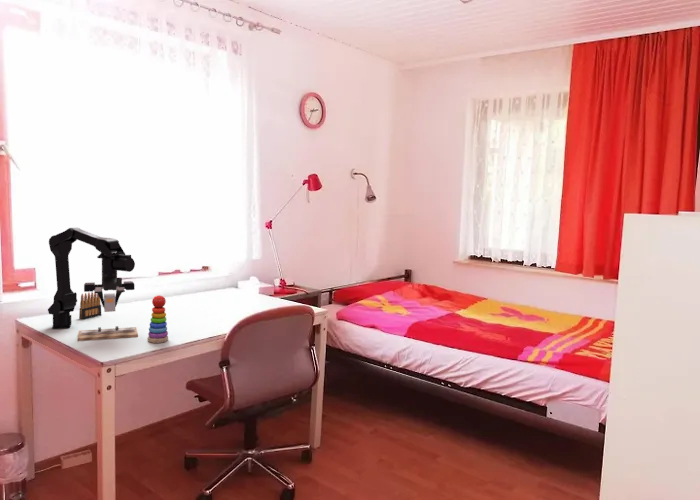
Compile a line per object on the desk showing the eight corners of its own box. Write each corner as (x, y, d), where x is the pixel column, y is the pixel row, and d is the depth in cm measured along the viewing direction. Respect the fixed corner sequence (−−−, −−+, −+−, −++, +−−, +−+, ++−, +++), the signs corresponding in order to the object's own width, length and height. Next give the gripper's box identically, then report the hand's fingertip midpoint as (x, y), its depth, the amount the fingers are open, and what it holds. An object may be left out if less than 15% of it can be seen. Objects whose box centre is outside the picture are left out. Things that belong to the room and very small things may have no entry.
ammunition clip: (98, 314, 246) (98, 290, 244) (101, 315, 245) (101, 290, 244) (79, 319, 236) (79, 293, 235) (82, 319, 235) (81, 294, 234)
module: (104, 312, 210) (104, 297, 209) (104, 308, 216) (103, 293, 215) (115, 311, 212) (115, 296, 211) (114, 307, 218) (114, 293, 217)
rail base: (77, 340, 204) (77, 333, 204) (78, 332, 215) (78, 325, 214) (137, 336, 214) (138, 329, 213) (136, 329, 224) (136, 322, 224)
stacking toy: (143, 342, 206) (143, 296, 204) (154, 337, 214) (154, 292, 212) (161, 344, 205) (162, 298, 203) (171, 339, 213) (172, 294, 211)
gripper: (83, 273, 201) (84, 312, 202) (135, 272, 209) (135, 309, 211) (83, 269, 211) (84, 306, 212) (133, 268, 219) (133, 304, 221)
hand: (109, 306), depth 214 cm, fingers closed on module, 4 cm apart
